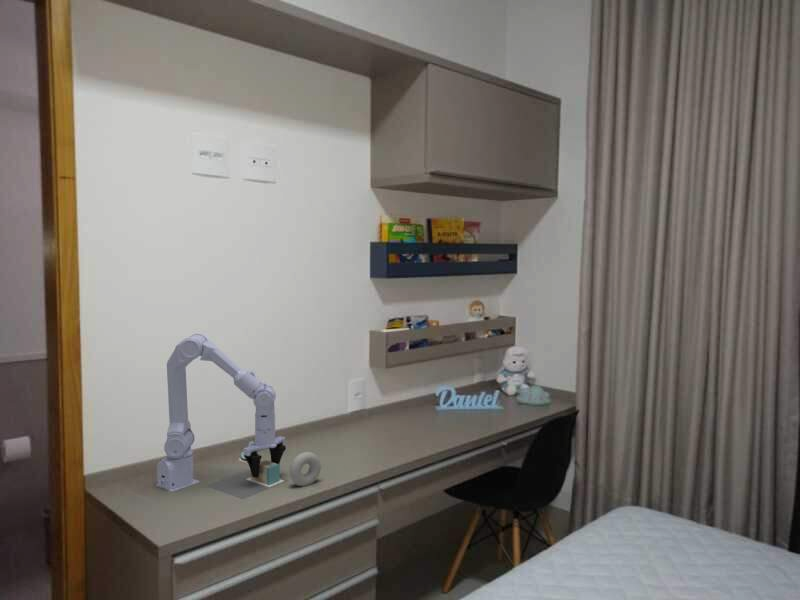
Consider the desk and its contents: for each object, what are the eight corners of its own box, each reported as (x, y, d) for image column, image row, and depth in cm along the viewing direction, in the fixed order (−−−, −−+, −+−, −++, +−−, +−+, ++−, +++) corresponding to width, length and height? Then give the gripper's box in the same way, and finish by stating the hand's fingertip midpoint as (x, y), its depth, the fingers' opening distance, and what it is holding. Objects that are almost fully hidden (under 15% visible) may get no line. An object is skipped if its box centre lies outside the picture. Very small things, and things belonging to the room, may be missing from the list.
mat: (242, 501, 161) (242, 498, 161) (206, 487, 170) (206, 485, 170) (288, 482, 175) (288, 480, 175) (252, 470, 184) (252, 468, 184)
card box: (250, 479, 176) (250, 462, 175) (261, 475, 179) (261, 458, 178) (269, 485, 171) (269, 468, 171) (279, 481, 174) (279, 464, 174)
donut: (316, 480, 177) (316, 447, 177) (323, 483, 175) (323, 450, 174) (287, 488, 171) (287, 454, 170) (293, 491, 168) (293, 457, 168)
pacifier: (246, 466, 189) (262, 461, 193) (246, 447, 188) (262, 442, 193) (234, 461, 194) (249, 456, 198) (233, 442, 193) (249, 438, 198)
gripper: (255, 436, 166) (255, 483, 167) (292, 424, 177) (292, 469, 178) (238, 431, 170) (238, 477, 171) (276, 420, 182) (276, 464, 182)
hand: (265, 473), depth 175 cm, fingers open, 7 cm apart
